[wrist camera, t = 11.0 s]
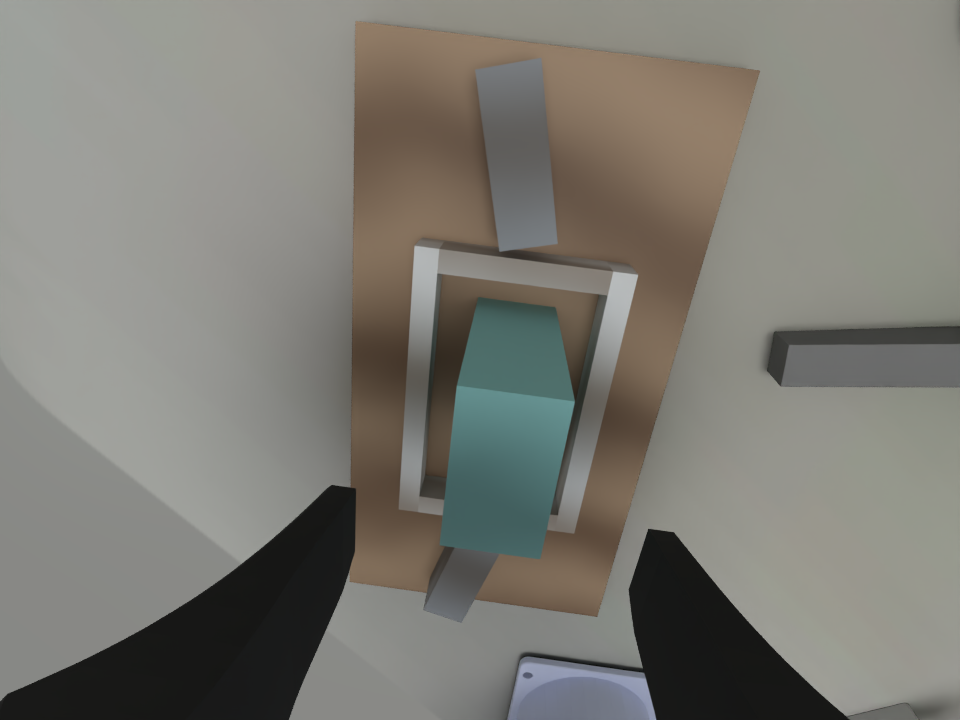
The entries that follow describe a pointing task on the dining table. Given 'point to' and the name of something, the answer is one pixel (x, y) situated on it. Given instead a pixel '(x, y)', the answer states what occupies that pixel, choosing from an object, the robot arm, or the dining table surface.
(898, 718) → the lighter
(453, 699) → the dining table surface
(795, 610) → the dining table surface
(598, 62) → the board
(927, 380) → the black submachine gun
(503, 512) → the block
